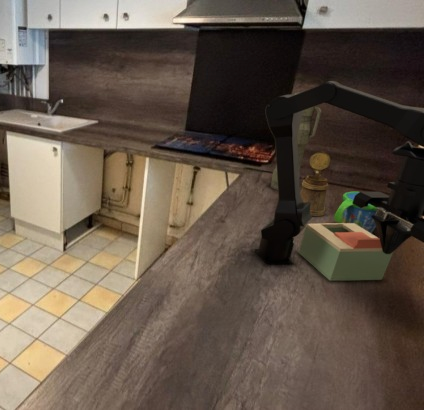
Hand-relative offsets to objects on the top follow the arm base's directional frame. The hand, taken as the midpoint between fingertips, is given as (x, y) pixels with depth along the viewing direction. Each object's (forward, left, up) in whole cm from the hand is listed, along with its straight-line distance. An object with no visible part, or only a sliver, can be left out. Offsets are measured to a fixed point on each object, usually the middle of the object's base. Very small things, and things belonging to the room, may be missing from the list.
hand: (386, 253), depth 73 cm
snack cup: (+18, +29, -10) cm, 35 cm away
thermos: (+16, +64, -10) cm, 66 cm away
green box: (0, +11, -10) cm, 15 cm away
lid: (0, +11, -2) cm, 11 cm away
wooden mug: (+14, +45, -10) cm, 48 cm away
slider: (0, +7, -1) cm, 8 cm away
